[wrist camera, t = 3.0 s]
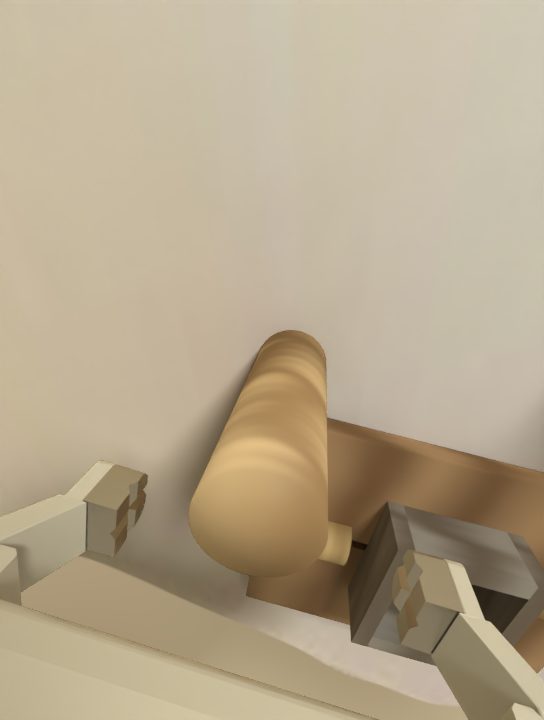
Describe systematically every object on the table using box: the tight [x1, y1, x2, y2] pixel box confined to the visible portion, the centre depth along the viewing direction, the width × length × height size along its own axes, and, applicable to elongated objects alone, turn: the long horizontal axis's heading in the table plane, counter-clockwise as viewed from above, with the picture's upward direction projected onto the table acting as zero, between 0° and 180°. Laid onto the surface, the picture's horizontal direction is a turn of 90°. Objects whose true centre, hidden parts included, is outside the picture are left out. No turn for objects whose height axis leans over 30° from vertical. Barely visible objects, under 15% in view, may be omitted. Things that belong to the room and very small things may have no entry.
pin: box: [188, 330, 328, 577], centre depth 16 cm, size 4×4×12 cm
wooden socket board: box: [246, 418, 544, 673], centre depth 23 cm, size 22×16×5 cm
